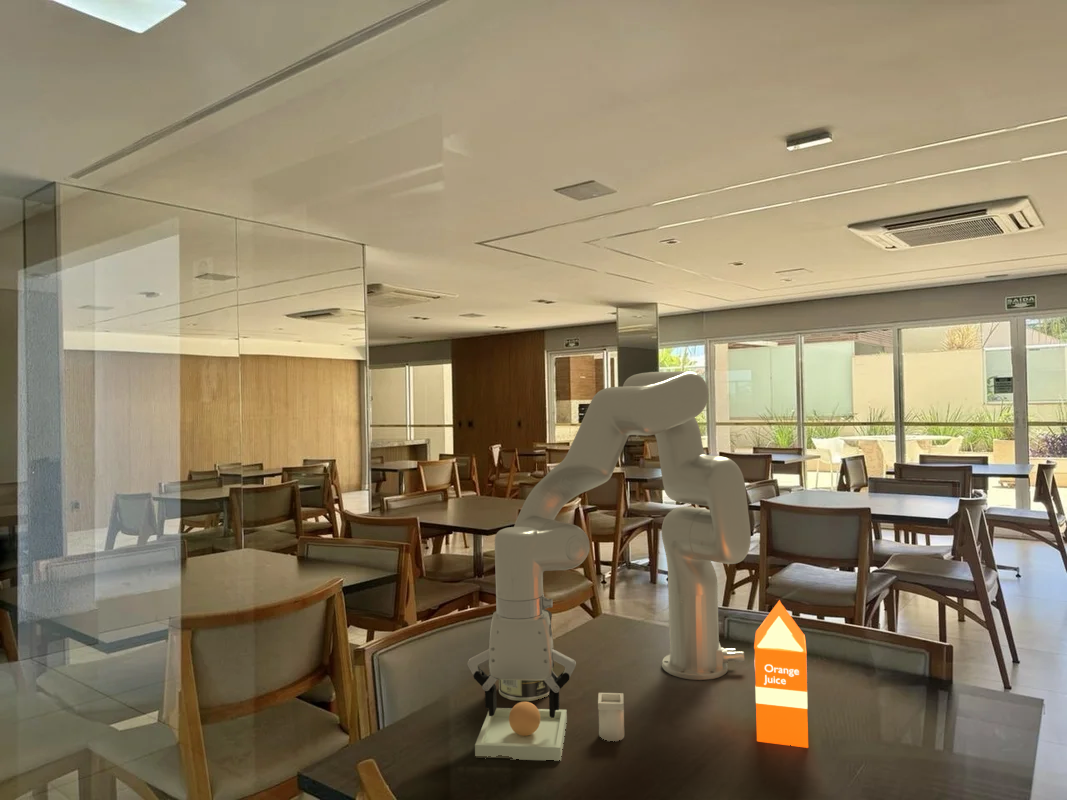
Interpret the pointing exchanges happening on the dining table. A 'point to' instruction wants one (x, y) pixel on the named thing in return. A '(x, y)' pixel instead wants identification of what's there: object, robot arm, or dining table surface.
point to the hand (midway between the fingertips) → (522, 713)
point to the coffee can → (524, 687)
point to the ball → (524, 718)
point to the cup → (611, 716)
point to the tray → (522, 737)
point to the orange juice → (781, 680)
